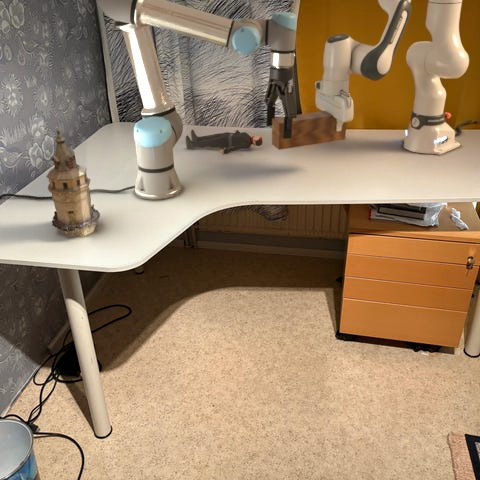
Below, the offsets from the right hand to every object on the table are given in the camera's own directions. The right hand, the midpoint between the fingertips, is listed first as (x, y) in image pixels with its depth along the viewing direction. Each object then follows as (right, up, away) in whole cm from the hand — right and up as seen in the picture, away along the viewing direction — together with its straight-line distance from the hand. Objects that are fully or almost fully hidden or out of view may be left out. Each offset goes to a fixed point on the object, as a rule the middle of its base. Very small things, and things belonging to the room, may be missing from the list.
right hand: (332, 127), depth 184 cm
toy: (-38, -2, +30) cm, 48 cm away
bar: (-8, -5, -1) cm, 10 cm away
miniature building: (-79, -36, -29) cm, 91 cm away
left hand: (-19, -3, -6) cm, 20 cm away
